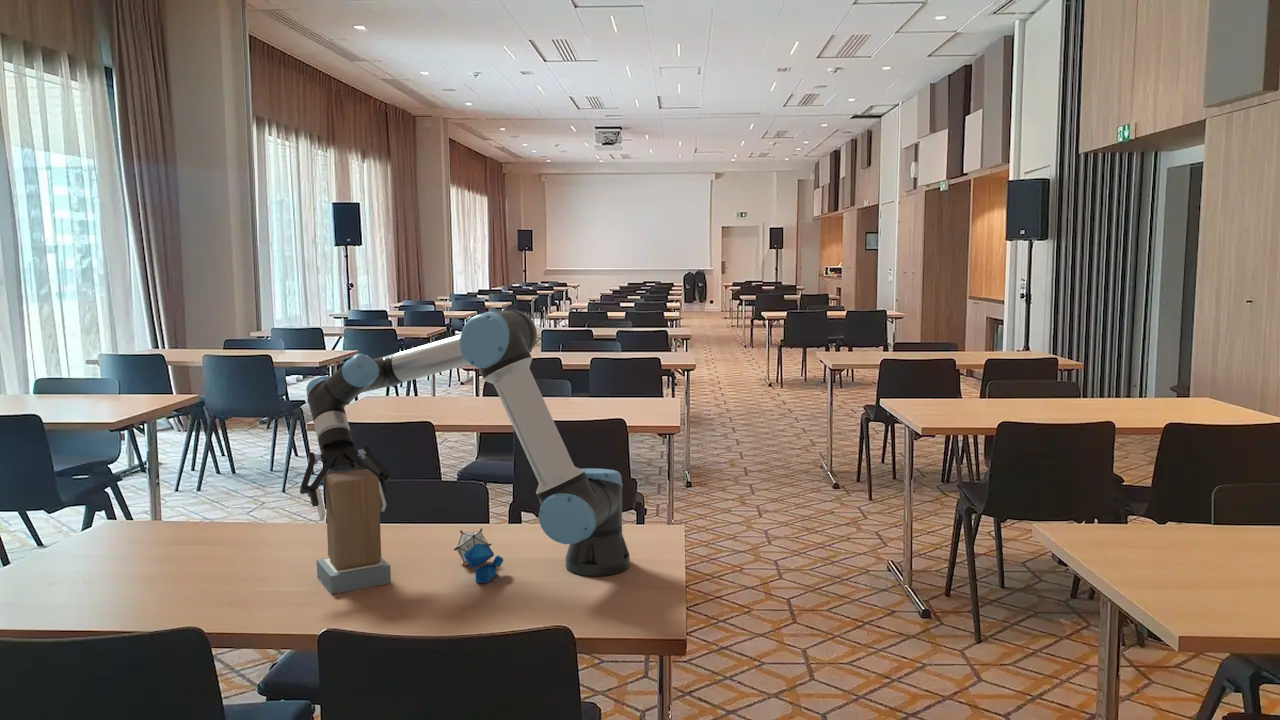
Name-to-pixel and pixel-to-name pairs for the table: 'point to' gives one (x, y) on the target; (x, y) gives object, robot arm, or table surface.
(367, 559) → the wooden block
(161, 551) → the table surface
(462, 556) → the game die
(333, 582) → the base
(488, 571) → the blue faceted figurine
